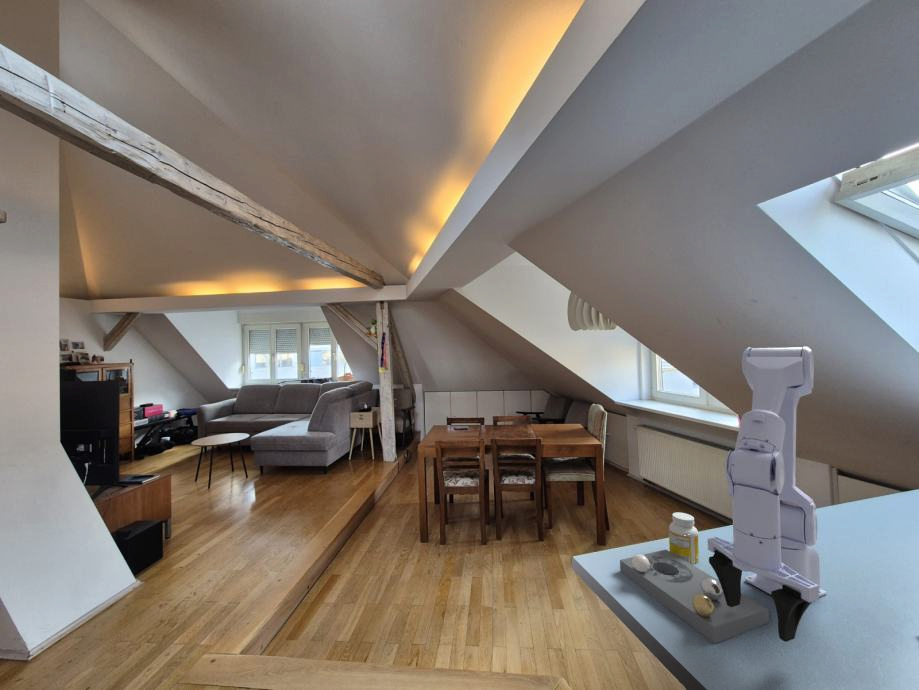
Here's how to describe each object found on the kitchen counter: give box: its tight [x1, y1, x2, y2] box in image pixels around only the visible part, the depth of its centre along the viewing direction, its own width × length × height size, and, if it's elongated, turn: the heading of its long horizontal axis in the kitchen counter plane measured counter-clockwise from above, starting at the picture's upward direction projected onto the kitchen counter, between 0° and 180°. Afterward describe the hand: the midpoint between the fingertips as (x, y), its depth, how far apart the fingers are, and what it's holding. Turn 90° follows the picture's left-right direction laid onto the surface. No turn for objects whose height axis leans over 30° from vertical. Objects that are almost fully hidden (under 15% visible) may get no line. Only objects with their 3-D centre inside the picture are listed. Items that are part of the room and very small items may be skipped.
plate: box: [619, 549, 770, 644], centre depth 69 cm, size 12×20×2 cm, turn 19°
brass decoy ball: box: [692, 594, 715, 617], centre depth 61 cm, size 3×3×3 cm
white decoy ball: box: [632, 553, 650, 572], centre depth 73 cm, size 3×3×3 cm
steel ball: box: [701, 578, 723, 600], centre depth 65 cm, size 3×3×3 cm
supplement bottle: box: [668, 511, 700, 565], centre depth 81 cm, size 5×5×10 cm
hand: (758, 620), depth 58 cm, fingers open, 7 cm apart
